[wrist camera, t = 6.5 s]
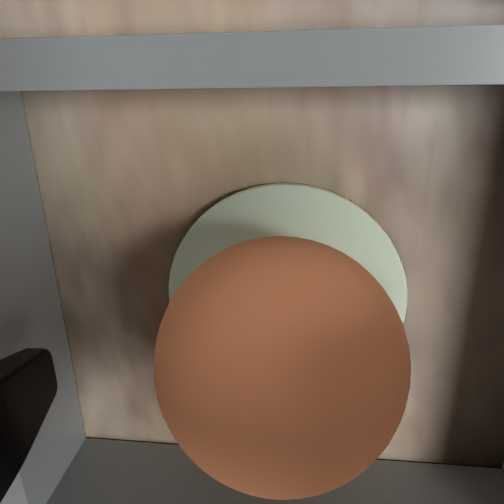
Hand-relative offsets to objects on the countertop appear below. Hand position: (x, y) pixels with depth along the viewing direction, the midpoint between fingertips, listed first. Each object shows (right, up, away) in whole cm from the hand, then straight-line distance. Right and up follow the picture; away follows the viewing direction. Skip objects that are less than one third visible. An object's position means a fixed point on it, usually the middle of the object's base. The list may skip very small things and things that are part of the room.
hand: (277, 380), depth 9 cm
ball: (0, +1, +3) cm, 3 cm away
